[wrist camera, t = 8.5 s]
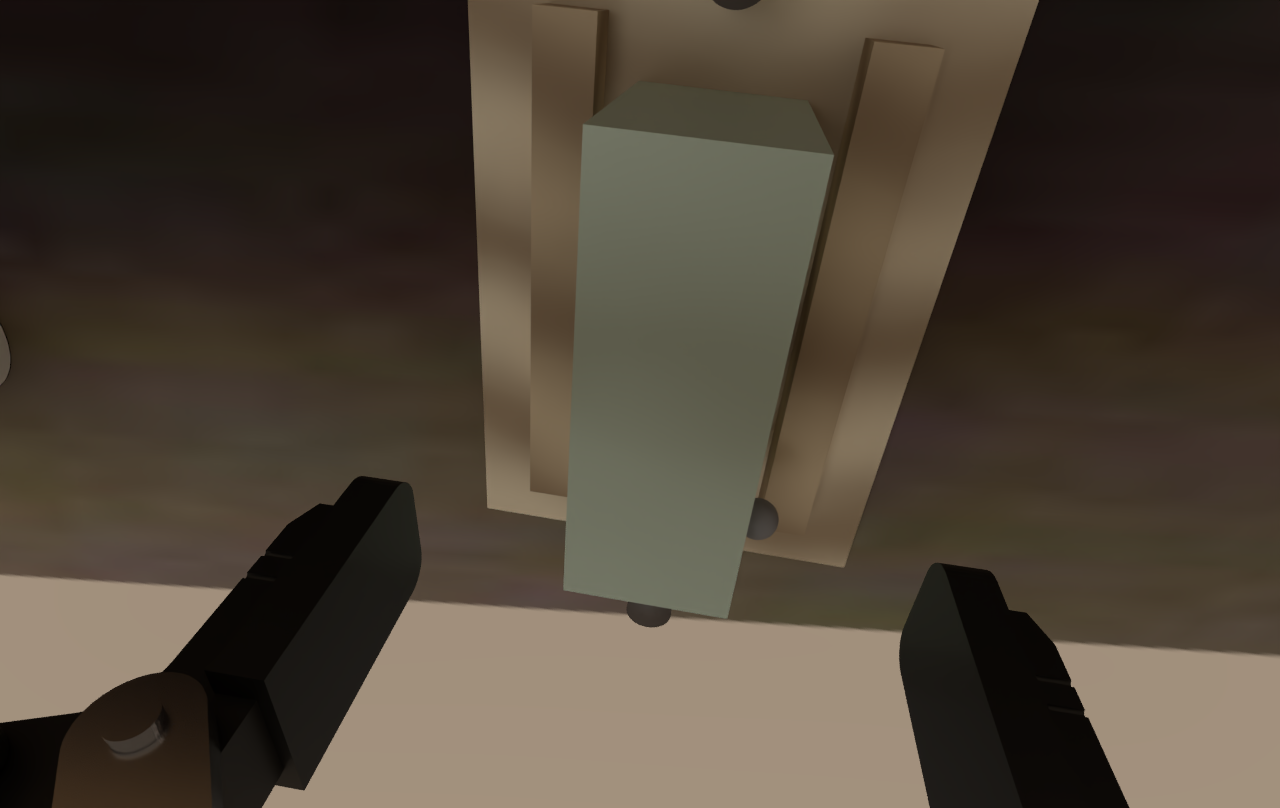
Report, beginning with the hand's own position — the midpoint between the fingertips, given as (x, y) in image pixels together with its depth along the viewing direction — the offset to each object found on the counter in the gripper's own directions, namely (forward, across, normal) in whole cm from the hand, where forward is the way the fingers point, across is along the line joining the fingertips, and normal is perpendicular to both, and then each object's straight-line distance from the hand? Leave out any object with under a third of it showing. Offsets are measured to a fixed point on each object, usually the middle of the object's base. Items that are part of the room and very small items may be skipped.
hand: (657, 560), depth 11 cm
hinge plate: (+13, 0, +1) cm, 13 cm away
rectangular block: (+12, 0, +1) cm, 12 cm away
